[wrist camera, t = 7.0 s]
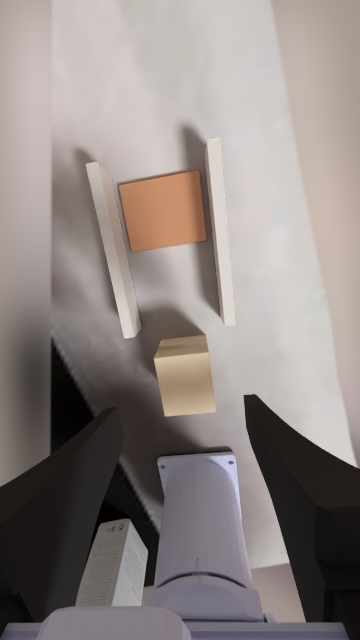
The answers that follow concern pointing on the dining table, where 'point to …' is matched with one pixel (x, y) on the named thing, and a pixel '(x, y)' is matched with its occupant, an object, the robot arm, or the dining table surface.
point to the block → (185, 376)
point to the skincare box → (114, 567)
